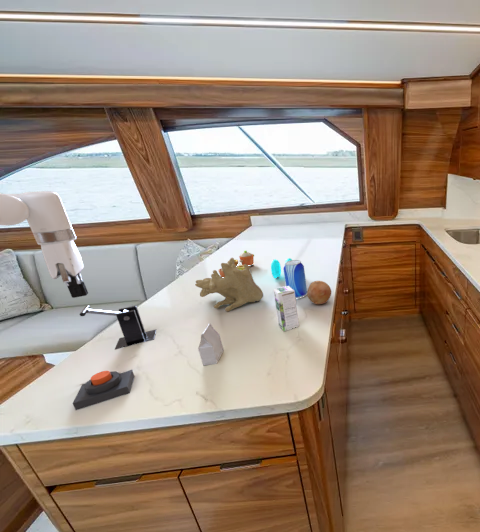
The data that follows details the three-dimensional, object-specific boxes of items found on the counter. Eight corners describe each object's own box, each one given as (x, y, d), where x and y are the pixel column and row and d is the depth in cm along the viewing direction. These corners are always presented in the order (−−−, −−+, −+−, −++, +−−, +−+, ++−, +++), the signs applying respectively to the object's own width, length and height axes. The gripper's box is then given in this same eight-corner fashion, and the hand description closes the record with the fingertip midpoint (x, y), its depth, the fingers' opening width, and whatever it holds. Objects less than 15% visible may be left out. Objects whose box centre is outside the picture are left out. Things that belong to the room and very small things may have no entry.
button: (91, 387, 74) (88, 381, 73) (94, 379, 77) (92, 374, 76) (110, 382, 76) (108, 376, 75) (113, 374, 78) (111, 368, 78)
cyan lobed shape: (293, 279, 153) (290, 261, 149) (272, 281, 151) (269, 263, 147) (295, 273, 162) (292, 255, 159) (275, 275, 160) (272, 257, 157)
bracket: (115, 352, 94) (102, 319, 91) (120, 340, 101) (108, 309, 97) (155, 341, 100) (144, 310, 96) (157, 331, 106) (147, 301, 102)
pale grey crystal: (223, 350, 94) (216, 322, 91) (217, 363, 88) (209, 333, 85) (210, 352, 93) (203, 324, 90) (203, 365, 87) (194, 335, 84)
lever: (78, 318, 88) (80, 310, 88) (84, 310, 93) (86, 303, 93) (131, 322, 96) (133, 315, 95) (134, 315, 100) (136, 308, 100)
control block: (75, 410, 71) (69, 397, 70) (85, 391, 78) (79, 378, 77) (129, 393, 77) (124, 380, 75) (134, 376, 83) (130, 364, 82)
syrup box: (278, 325, 108) (272, 289, 103) (294, 320, 112) (288, 284, 107) (283, 332, 104) (277, 294, 99) (300, 326, 107) (294, 289, 103)
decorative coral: (275, 281, 118) (212, 247, 109) (243, 330, 115) (175, 299, 106) (275, 275, 142) (223, 247, 133) (248, 316, 138) (193, 290, 129)
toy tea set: (228, 265, 178) (225, 249, 175) (256, 262, 182) (254, 247, 178) (215, 280, 154) (211, 262, 151) (248, 277, 158) (244, 259, 155)
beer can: (292, 292, 137) (287, 259, 132) (310, 292, 136) (305, 259, 131) (284, 300, 129) (279, 265, 124) (303, 300, 129) (299, 265, 123)
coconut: (337, 300, 128) (335, 278, 124) (321, 310, 119) (318, 287, 116) (319, 296, 132) (317, 275, 129) (303, 305, 124) (300, 283, 120)
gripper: (46, 233, 87) (71, 290, 94) (24, 244, 76) (53, 308, 82) (82, 230, 91) (103, 285, 97) (65, 239, 80) (90, 301, 86)
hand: (80, 295), depth 90 cm, fingers closed
